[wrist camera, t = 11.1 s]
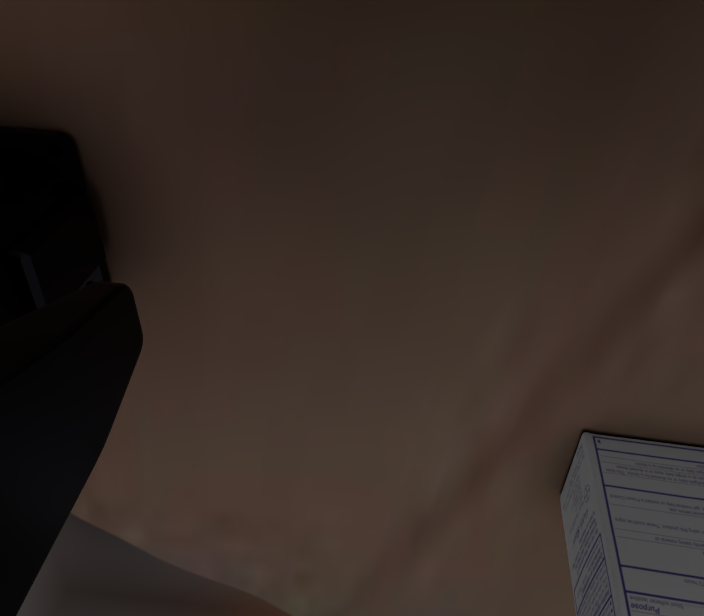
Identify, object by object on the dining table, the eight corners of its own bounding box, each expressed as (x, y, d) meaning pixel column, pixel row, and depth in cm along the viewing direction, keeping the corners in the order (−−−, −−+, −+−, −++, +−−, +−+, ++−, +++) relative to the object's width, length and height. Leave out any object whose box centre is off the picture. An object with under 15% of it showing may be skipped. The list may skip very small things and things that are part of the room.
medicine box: (556, 494, 29) (582, 704, 22) (582, 424, 26) (620, 639, 19) (743, 521, 28) (830, 748, 21) (789, 452, 25) (905, 686, 18)
